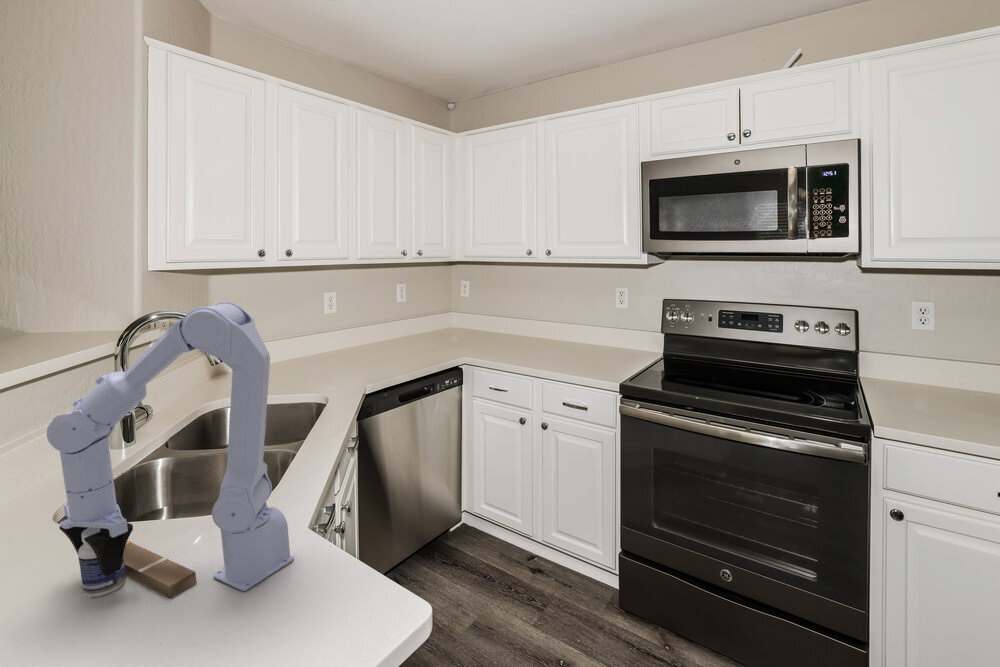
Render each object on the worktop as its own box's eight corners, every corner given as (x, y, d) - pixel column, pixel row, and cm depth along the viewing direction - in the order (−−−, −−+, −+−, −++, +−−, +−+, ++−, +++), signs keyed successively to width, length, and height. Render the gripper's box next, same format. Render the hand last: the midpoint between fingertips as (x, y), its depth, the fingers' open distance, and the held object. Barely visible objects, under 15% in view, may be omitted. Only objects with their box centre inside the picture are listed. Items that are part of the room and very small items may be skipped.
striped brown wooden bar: (116, 545, 91) (115, 534, 91) (196, 583, 80) (195, 570, 80) (90, 557, 88) (88, 545, 88) (170, 598, 77) (168, 585, 76)
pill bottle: (125, 589, 79) (117, 531, 77) (81, 602, 76) (72, 542, 75) (128, 572, 83) (120, 516, 82) (86, 583, 80) (77, 526, 79)
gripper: (35, 486, 77) (48, 567, 79) (82, 506, 70) (95, 595, 72) (89, 468, 83) (100, 545, 85) (138, 486, 77) (148, 568, 79)
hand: (101, 566), depth 79 cm, fingers open, 6 cm apart
